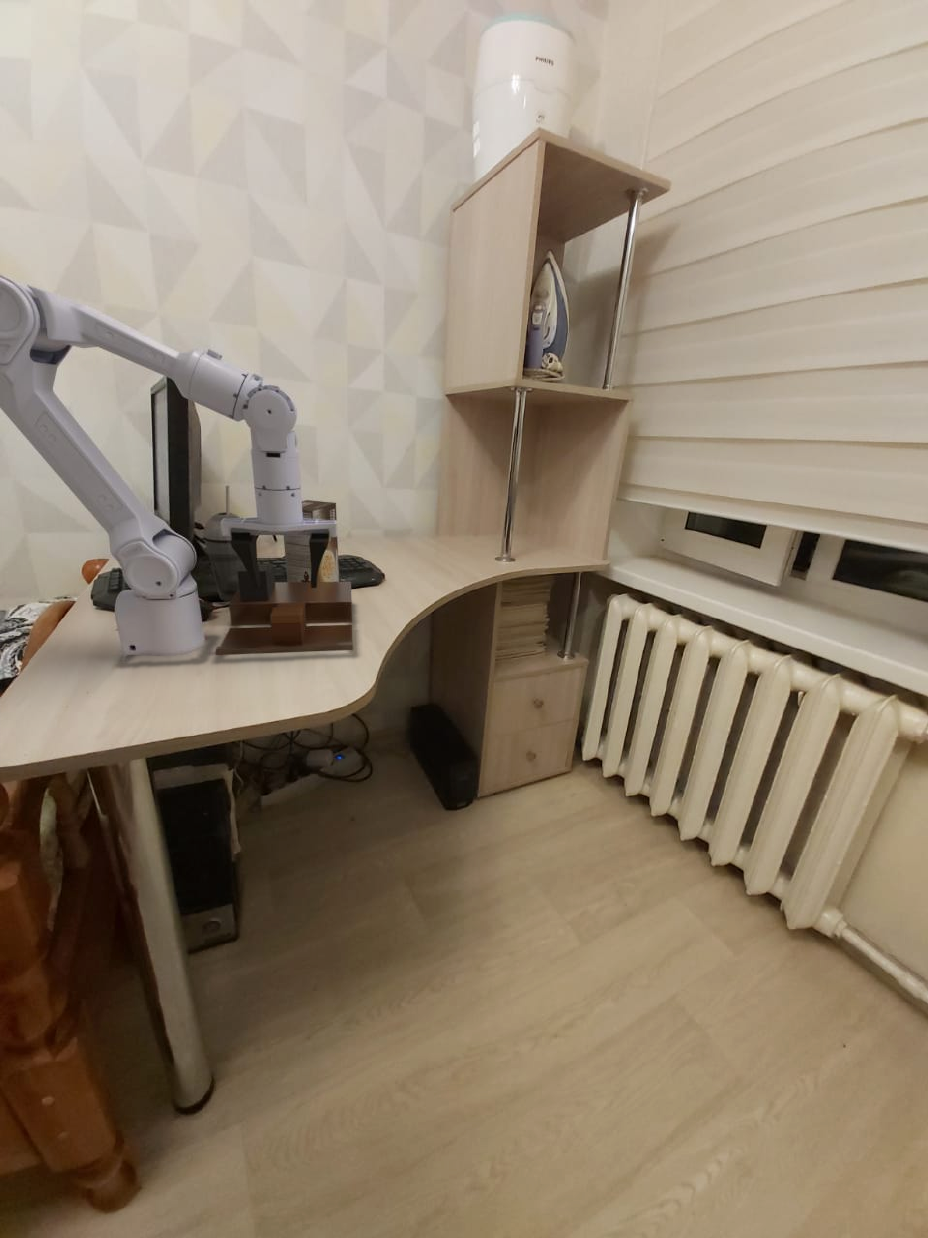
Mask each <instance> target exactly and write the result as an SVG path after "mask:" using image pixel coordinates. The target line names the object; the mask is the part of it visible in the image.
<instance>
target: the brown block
mask: <svg viewBox="0 0 928 1238" xmlns="http://www.w3.org/2000/svg"><path fill="white" fill-rule="evenodd" d="M270 620H271V625H270V627H271V631H272V642H273V645H288V644H303V640H304V635H305V629H306V626H307V624H306V608H305V603H278V605H277V607H274V608H273V609H272V612H271V615H270Z"/></svg>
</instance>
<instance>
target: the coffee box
mask: <svg viewBox="0 0 928 1238" xmlns="http://www.w3.org/2000/svg"><path fill="white" fill-rule="evenodd" d="M302 514H303V518H309V519H320V520H336V521H338V519H337V517H338V516H337V502H334V501H333V502H332V501H322V500H311V499H305V500H302ZM310 537H311V536H294V535H283V545H284V546H283V547H284V557H285V568H286V582H311V558H310V547H309V540H310ZM338 543H339V541H338V536H337V537H329V543H328V546H327V548H326V550H325V553H324V555H323V558H322V561H321V564H320V567H319V571H318V576H317V582H340V569H339V568H340V567H339V565H340V564H339V546H338V545H339V544H338Z"/></svg>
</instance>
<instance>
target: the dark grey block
mask: <svg viewBox="0 0 928 1238" xmlns="http://www.w3.org/2000/svg"><path fill="white" fill-rule="evenodd" d="M258 567H259V573H260V586H259V588H258V589H253V587H252V583H251V580H250V577H249V575H248V573H247V570H246V568H245V566H244V565H241V567H240V568H239V570H238V571H237V572H238V580H239V589H240V598H241V601H269V598H270V596H271V593H272V591H273V588H274V585H275V582H276V578H275V577H276V576H275V566H274V563H258Z"/></svg>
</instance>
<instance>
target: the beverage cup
mask: <svg viewBox="0 0 928 1238" xmlns="http://www.w3.org/2000/svg"><path fill="white" fill-rule="evenodd" d="M230 498H231V497H230V485H225V511H221V512H217V513H214V514H213V515H211V516H210V517H209V518H208V520H207V521H206V522H205V524H204V528H203V536H202V540H203V541H204V544H205V547H206V550H207V551H208V556H209V560H210V564H211V569H212V572H213V576H214V581H215V585H216V589H217V593H218V596H219V599H220V600H221V601H225V602H230V601H231V600H232V598H233V596H234V595H235V593H236V591H237V589H238V588H239V580H238V572H237V571H238V570H239V568H240V567H241V565H244V564H243V563H242V561H241V559H240V558H239V556H238V555H237V553H236V552H235V551H234V549H233V548H232V546H231V544H230V541H231V536H222V531H221V523H220V522H221V521H222V520H223V519H224V518H225V519H233V518H241V517H240V516H239V515H238V514H235V513H233V512H230V511H231V510H230V507H231V506H230V503H231V502H230V500H231V499H230Z"/></svg>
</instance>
